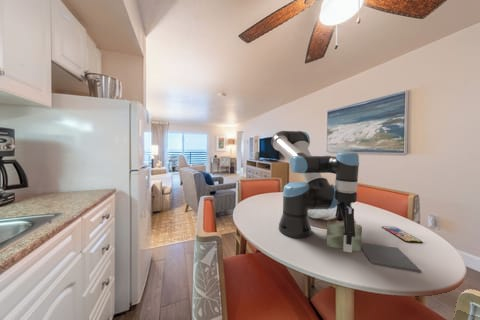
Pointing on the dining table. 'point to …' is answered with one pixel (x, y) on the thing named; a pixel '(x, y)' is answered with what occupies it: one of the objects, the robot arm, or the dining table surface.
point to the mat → (388, 257)
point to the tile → (337, 237)
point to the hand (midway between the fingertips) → (343, 242)
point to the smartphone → (402, 234)
